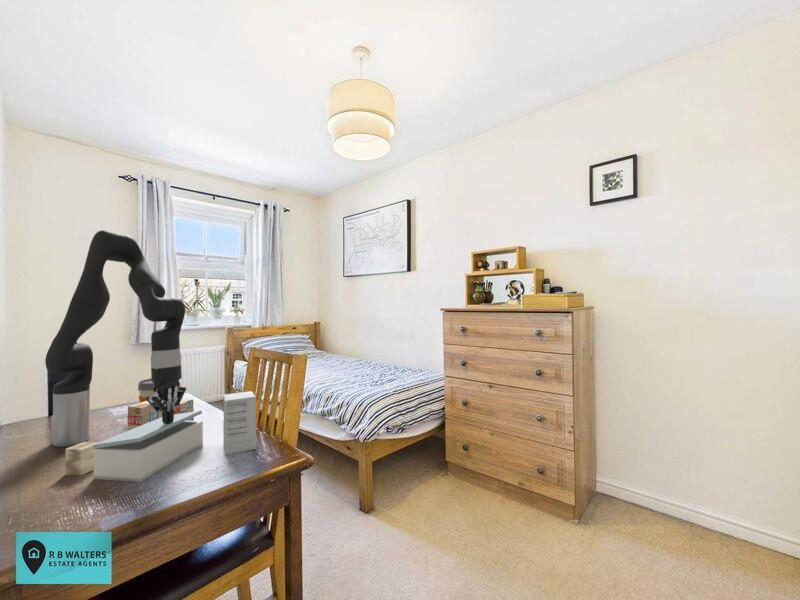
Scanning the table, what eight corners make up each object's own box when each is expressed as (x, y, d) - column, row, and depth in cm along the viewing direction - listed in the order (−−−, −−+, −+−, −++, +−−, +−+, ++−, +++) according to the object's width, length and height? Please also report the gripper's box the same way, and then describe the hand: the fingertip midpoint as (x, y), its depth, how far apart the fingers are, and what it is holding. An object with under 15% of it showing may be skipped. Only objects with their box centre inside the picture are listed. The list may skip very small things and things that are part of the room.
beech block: (65, 474, 98) (65, 449, 98) (83, 466, 103) (83, 441, 103) (81, 475, 97) (81, 449, 97) (99, 467, 102) (99, 442, 102)
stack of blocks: (181, 421, 142) (181, 390, 142) (194, 422, 140) (193, 391, 140) (127, 441, 121) (127, 405, 121) (141, 443, 120) (141, 406, 120)
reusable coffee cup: (146, 413, 153) (146, 378, 153) (179, 410, 156) (179, 376, 156) (132, 422, 141) (131, 384, 141) (167, 419, 144) (167, 382, 144)
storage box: (93, 479, 95) (93, 449, 95) (164, 443, 119) (164, 419, 119) (140, 482, 93) (140, 451, 93) (202, 445, 117) (202, 421, 117)
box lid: (93, 448, 95) (93, 444, 95) (164, 419, 119) (163, 416, 119) (139, 441, 94) (139, 437, 94) (202, 413, 117) (201, 410, 117)
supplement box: (256, 449, 114) (256, 396, 114) (224, 455, 109) (224, 400, 109) (253, 439, 122) (252, 390, 122) (223, 445, 117) (222, 393, 118)
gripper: (172, 361, 113) (173, 416, 113) (135, 369, 100) (137, 431, 100) (193, 360, 112) (195, 416, 112) (160, 368, 99) (162, 431, 99)
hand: (168, 423), depth 106 cm, fingers closed
